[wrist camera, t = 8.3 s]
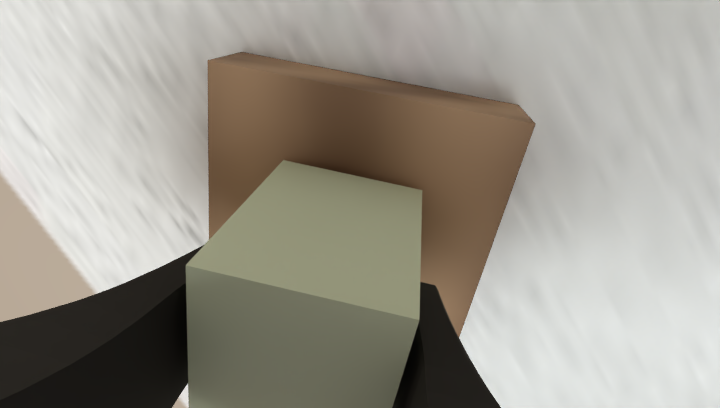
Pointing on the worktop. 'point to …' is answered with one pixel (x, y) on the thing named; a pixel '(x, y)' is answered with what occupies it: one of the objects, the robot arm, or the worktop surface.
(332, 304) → the sage block
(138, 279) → the robot arm
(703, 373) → the worktop surface
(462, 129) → the walnut block
